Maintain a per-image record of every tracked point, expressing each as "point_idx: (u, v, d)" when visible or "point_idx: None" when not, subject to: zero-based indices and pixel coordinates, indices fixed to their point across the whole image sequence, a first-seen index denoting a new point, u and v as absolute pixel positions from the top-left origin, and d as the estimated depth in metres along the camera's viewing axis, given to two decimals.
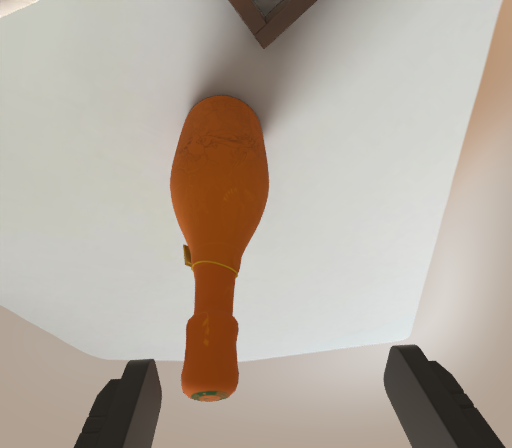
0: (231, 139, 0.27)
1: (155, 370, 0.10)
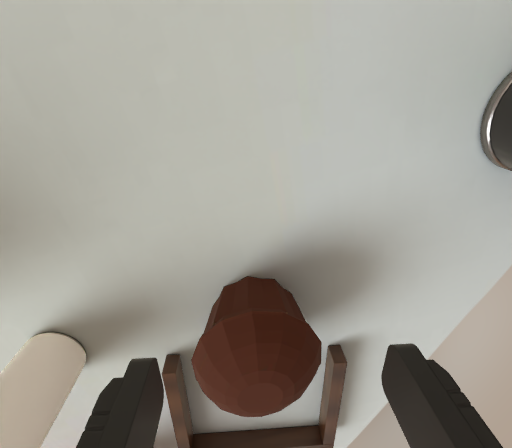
0: None
1: (157, 369, 0.10)
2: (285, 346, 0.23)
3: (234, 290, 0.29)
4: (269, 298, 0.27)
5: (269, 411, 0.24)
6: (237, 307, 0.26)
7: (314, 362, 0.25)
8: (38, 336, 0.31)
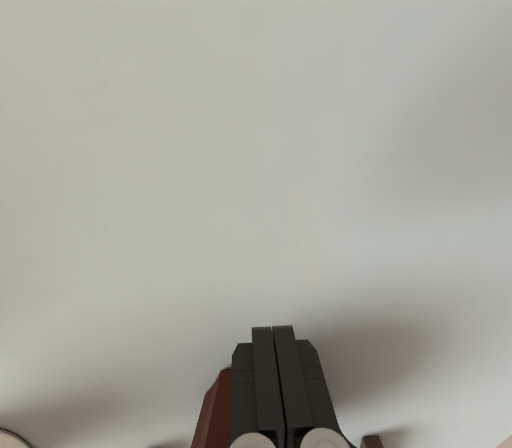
0: None
1: None
2: None
3: None
4: None
5: None
6: None
7: None
8: None
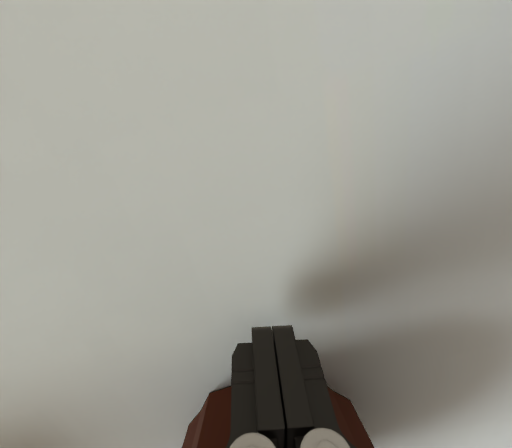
0: None
1: None
2: None
3: None
4: None
5: None
6: None
7: None
8: None
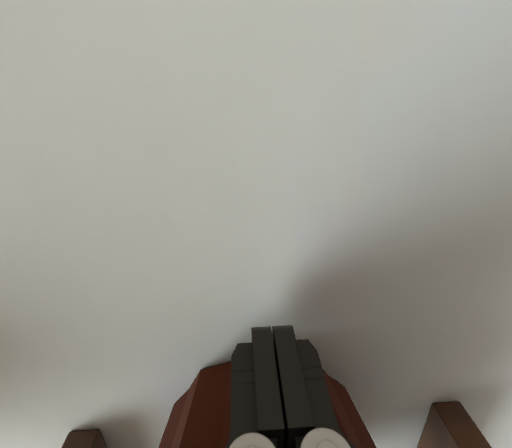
0: None
1: None
2: None
3: (224, 391, 0.12)
4: None
5: None
6: None
7: None
8: None
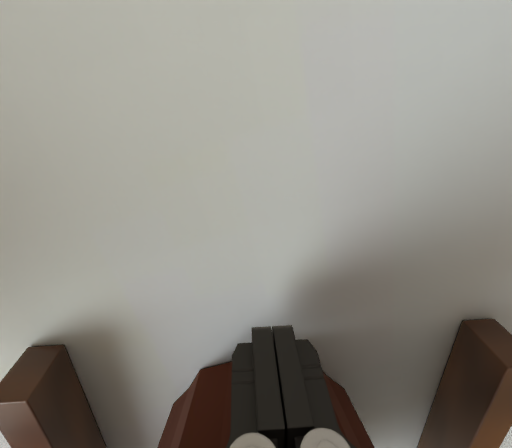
0: None
1: None
2: None
3: (224, 391, 0.12)
4: None
5: None
6: None
7: None
8: None
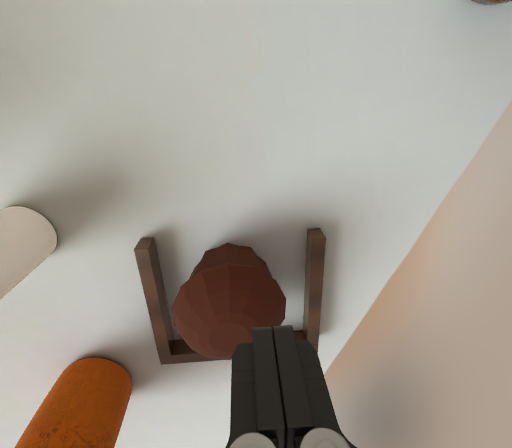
0: (91, 443, 0.31)
1: None
2: (254, 294, 0.27)
3: (214, 253, 0.33)
4: (244, 259, 0.31)
5: None
6: (216, 263, 0.30)
7: (278, 313, 0.29)
8: (5, 208, 0.30)
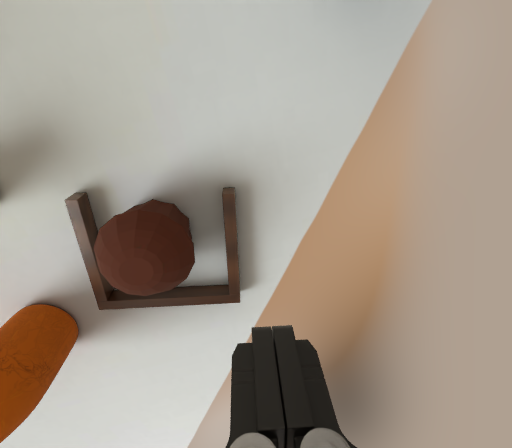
0: (27, 368, 0.36)
1: None
2: (157, 234, 0.31)
3: (138, 206, 0.37)
4: (160, 210, 0.35)
5: (145, 285, 0.33)
6: None
7: (183, 254, 0.33)
8: None
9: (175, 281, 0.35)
